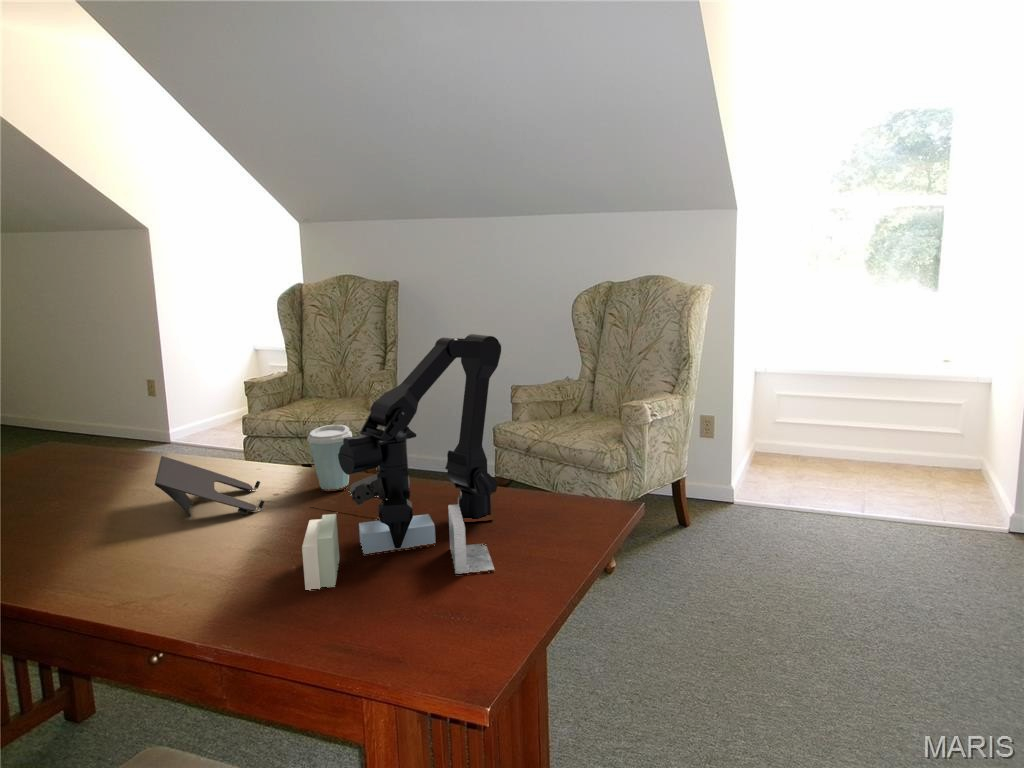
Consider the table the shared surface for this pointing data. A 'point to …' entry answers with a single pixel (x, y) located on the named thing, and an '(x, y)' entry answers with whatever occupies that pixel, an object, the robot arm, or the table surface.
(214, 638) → the table surface
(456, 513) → the l-shaped bookend
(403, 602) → the table surface
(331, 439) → the disposable coffee cup
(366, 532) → the light blue rectangular block
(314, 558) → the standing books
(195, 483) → the portable electronic device stand
